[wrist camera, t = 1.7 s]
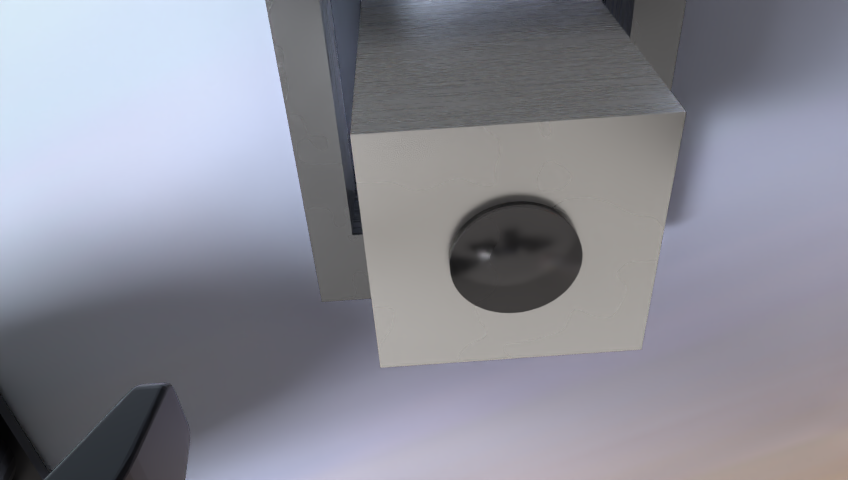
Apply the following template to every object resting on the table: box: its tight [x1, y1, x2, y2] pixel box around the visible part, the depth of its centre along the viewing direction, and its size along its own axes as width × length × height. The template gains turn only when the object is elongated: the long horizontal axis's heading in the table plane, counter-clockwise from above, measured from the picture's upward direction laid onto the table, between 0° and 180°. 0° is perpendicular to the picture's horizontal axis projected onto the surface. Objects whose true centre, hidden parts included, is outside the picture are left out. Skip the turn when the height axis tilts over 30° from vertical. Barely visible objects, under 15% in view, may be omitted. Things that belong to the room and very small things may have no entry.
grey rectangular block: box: [350, 0, 686, 368], centre depth 13 cm, size 4×4×7 cm
